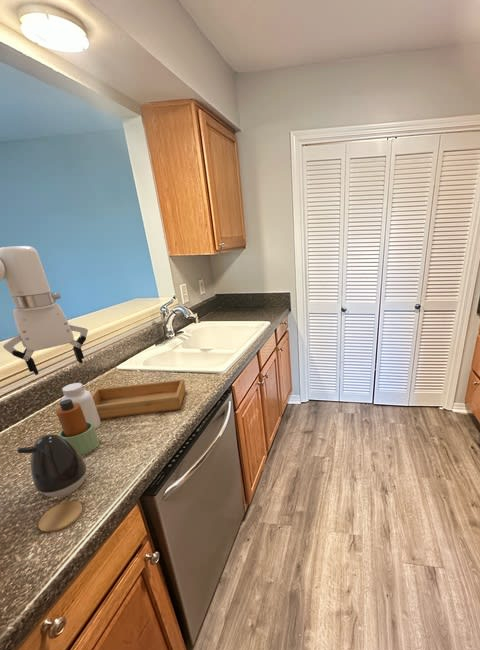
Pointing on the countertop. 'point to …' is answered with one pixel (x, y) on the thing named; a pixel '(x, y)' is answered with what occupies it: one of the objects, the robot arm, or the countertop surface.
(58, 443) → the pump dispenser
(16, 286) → the robot arm
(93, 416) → the pill bottle
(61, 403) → the bottle
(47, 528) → the coaster
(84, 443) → the cup
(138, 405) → the tray
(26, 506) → the countertop surface
